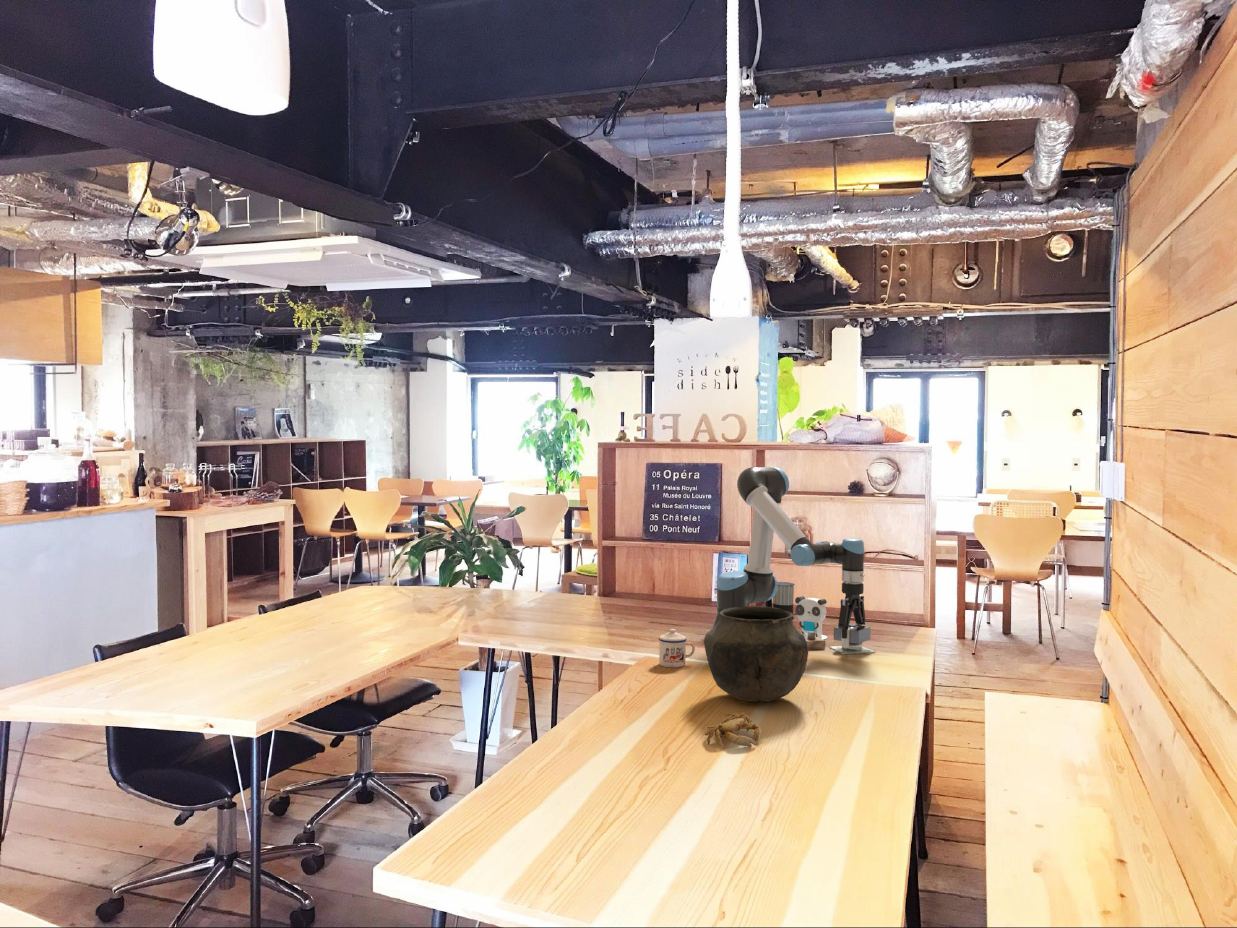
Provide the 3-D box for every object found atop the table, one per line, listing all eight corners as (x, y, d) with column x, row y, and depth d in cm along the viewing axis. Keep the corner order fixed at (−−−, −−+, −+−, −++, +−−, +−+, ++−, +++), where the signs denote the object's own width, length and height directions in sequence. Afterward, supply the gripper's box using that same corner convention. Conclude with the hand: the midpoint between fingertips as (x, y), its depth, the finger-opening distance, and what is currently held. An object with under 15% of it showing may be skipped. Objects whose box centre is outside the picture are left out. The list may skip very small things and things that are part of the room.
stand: (807, 649, 320) (807, 634, 320) (798, 645, 327) (798, 630, 327) (824, 648, 322) (825, 633, 322) (815, 644, 329) (815, 629, 328)
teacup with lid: (660, 668, 291) (661, 632, 291) (656, 661, 300) (656, 626, 300) (697, 667, 292) (697, 631, 292) (691, 660, 301) (692, 626, 301)
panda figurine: (789, 636, 342) (789, 597, 341) (805, 632, 350) (805, 594, 350) (817, 641, 334) (817, 601, 333) (832, 637, 342) (833, 598, 342)
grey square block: (858, 643, 313) (858, 630, 313) (833, 639, 319) (833, 627, 319) (870, 639, 321) (870, 626, 320) (845, 635, 327) (845, 623, 327)
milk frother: (797, 617, 381) (797, 582, 381) (783, 623, 368) (783, 587, 368) (766, 614, 389) (766, 580, 389) (751, 619, 376) (751, 584, 376)
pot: (742, 721, 235) (743, 626, 234) (686, 691, 264) (687, 606, 263) (833, 709, 246) (835, 618, 246) (770, 681, 275) (771, 600, 275)
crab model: (743, 755, 209) (743, 732, 209) (696, 744, 217) (696, 721, 217) (773, 738, 222) (773, 716, 222) (727, 728, 229) (727, 706, 229)
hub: (844, 654, 313) (844, 631, 313) (829, 647, 324) (829, 625, 324) (875, 652, 316) (875, 629, 316) (858, 645, 327) (859, 624, 327)
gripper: (848, 586, 309) (847, 651, 309) (876, 580, 326) (875, 641, 326) (828, 584, 314) (827, 648, 314) (856, 577, 331) (855, 638, 331)
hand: (851, 644), depth 320 cm, fingers closed on grey square block, 9 cm apart
